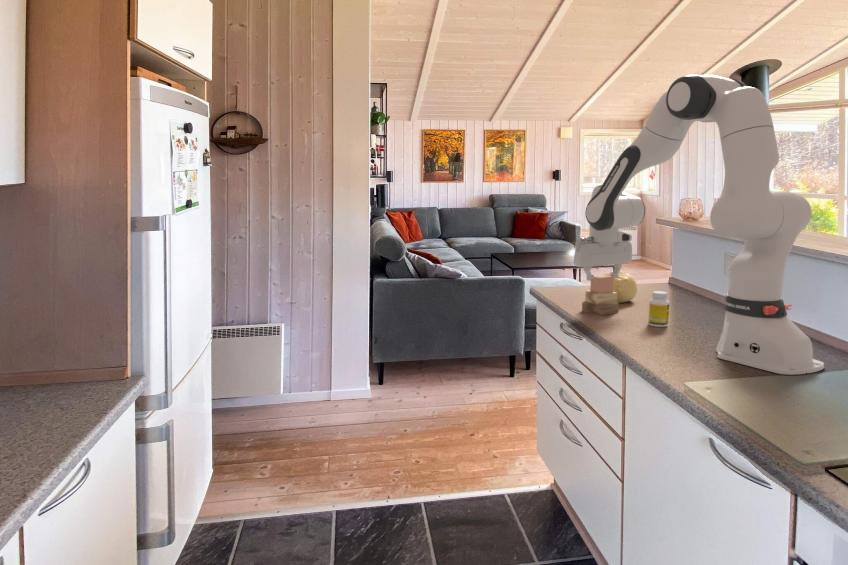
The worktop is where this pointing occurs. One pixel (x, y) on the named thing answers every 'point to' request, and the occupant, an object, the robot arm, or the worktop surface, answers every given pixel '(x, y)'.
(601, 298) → the top block
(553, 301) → the worktop surface
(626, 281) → the pale yellow rounded lump
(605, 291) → the cube
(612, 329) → the worktop surface
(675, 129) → the robot arm
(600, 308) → the bottom block
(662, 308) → the supplement bottle
